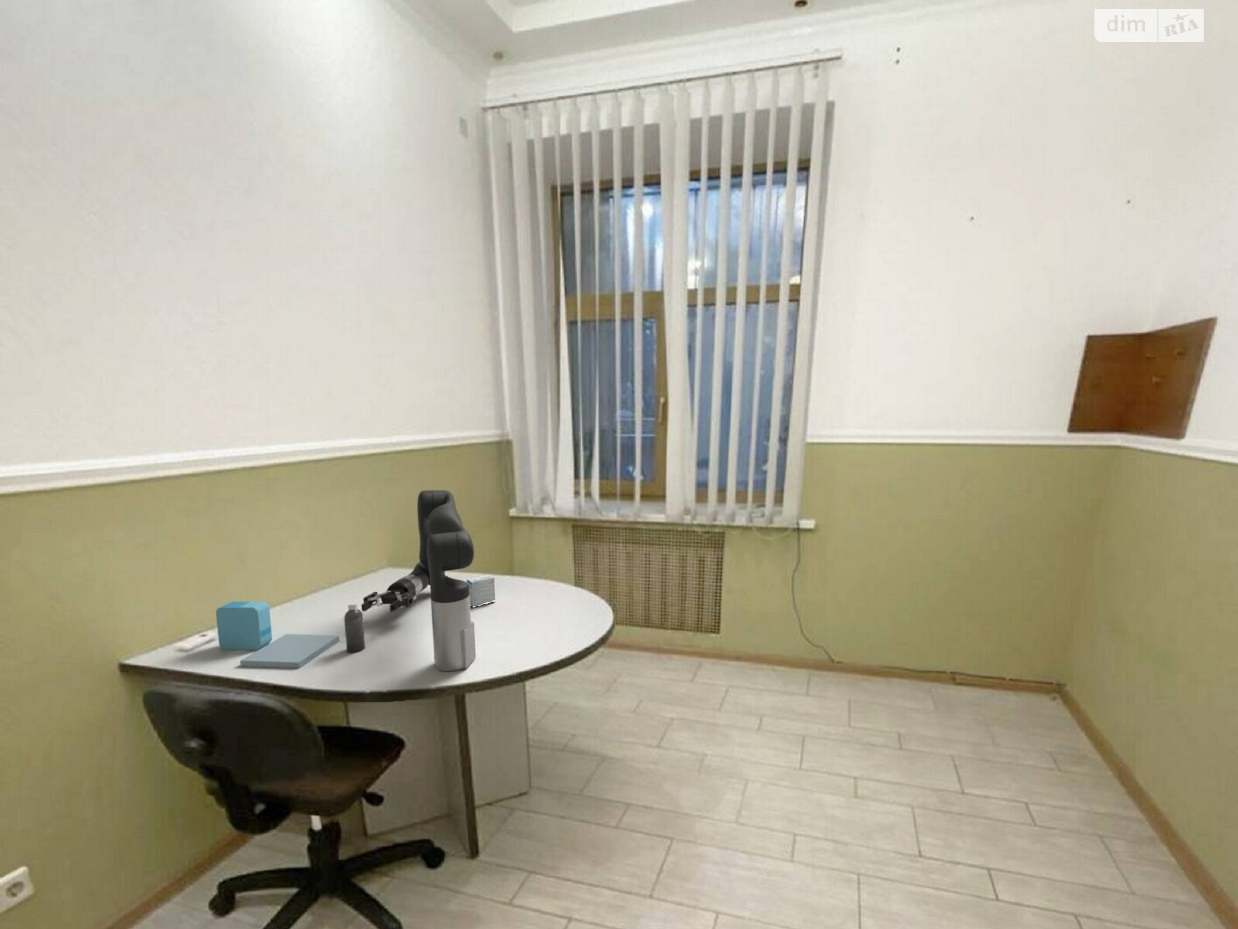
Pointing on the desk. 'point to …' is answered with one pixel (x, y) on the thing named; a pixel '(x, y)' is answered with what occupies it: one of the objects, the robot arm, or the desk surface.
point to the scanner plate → (290, 651)
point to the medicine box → (481, 590)
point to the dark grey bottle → (354, 629)
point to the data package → (244, 625)
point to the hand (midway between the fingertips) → (377, 608)
